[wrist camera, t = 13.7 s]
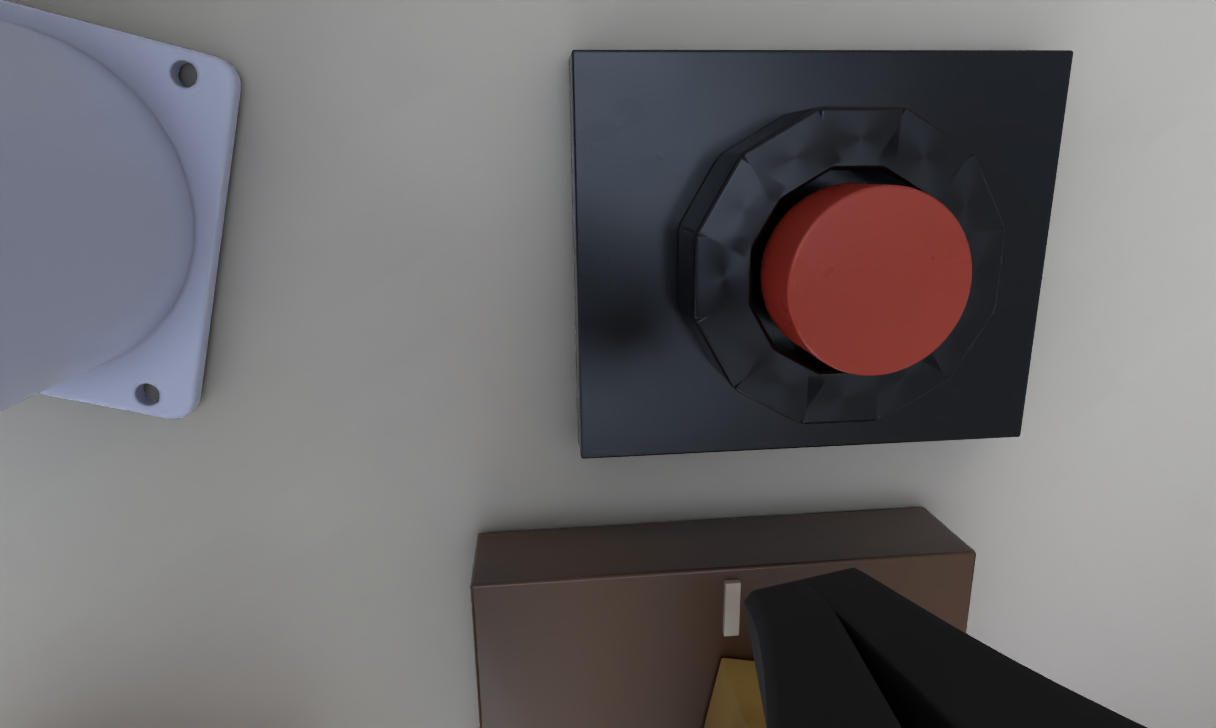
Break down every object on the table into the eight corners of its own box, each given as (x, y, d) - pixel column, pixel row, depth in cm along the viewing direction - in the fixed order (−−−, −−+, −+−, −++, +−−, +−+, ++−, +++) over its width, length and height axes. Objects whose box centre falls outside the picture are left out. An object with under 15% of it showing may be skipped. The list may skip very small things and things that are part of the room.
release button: (755, 357, 16) (783, 380, 14) (763, 184, 15) (792, 186, 13) (917, 351, 16) (962, 372, 15) (934, 181, 15) (984, 183, 14)
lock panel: (497, 844, 22) (492, 934, 19) (477, 532, 19) (469, 589, 17) (892, 805, 23) (938, 886, 20) (924, 505, 20) (981, 555, 18)
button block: (578, 441, 19) (586, 491, 16) (568, 57, 16) (577, 34, 14) (992, 421, 20) (1070, 465, 17) (1038, 58, 17) (1139, 36, 15)
